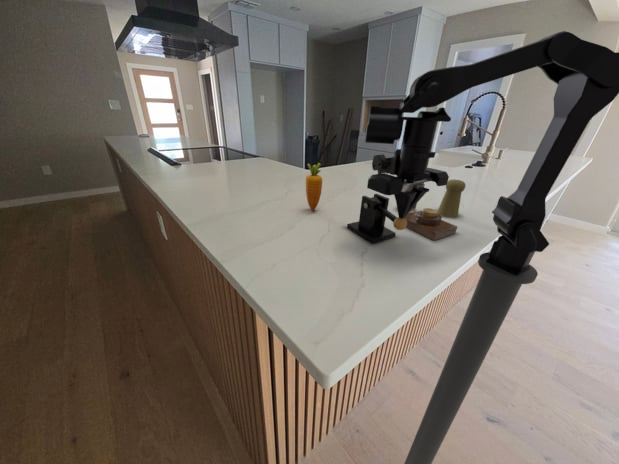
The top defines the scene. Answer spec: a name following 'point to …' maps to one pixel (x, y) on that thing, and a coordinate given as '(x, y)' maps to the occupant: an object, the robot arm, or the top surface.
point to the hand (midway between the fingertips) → (401, 217)
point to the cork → (451, 199)
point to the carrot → (313, 186)
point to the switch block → (429, 226)
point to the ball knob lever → (391, 216)
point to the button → (429, 213)
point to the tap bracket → (372, 221)
